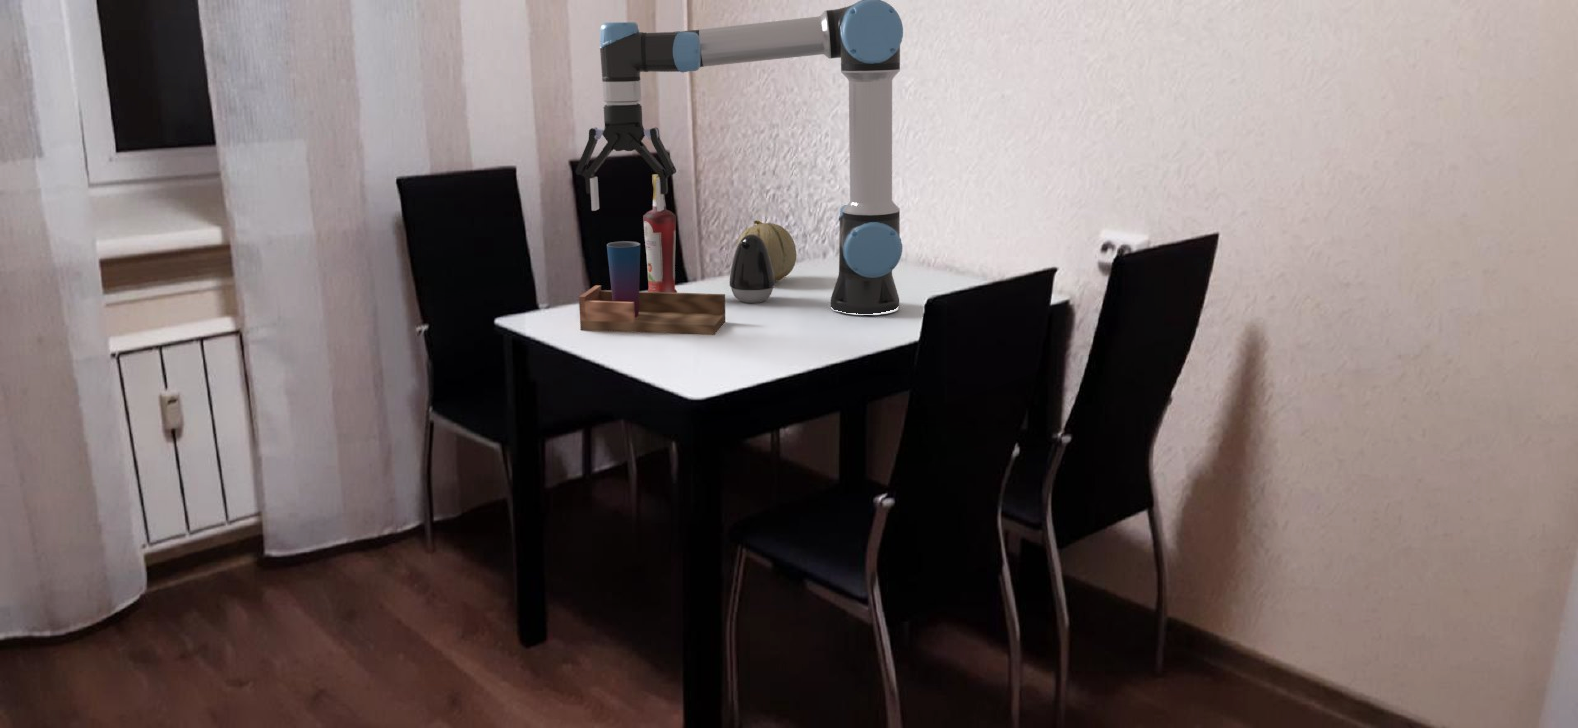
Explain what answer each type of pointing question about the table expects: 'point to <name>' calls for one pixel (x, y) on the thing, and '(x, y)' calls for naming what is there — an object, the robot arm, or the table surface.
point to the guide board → (653, 312)
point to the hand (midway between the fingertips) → (627, 210)
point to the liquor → (660, 246)
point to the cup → (625, 272)
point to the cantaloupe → (775, 246)
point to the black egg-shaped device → (752, 271)
